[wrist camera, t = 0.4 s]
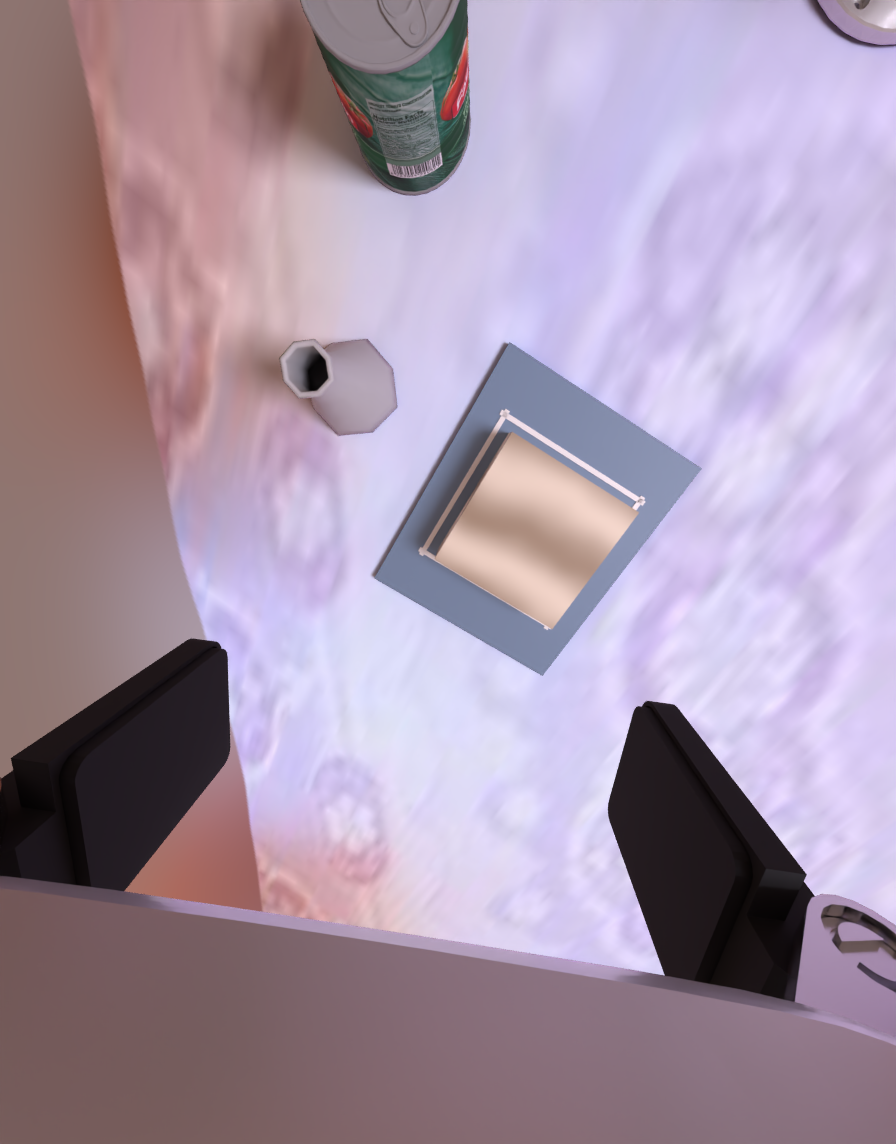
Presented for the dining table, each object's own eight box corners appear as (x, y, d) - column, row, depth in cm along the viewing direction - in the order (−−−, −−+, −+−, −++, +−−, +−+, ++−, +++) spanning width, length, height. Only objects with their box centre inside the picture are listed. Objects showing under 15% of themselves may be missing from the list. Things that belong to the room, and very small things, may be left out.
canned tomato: (334, 109, 30) (255, -74, 19) (429, 21, 28) (399, -233, 18) (399, 222, 31) (359, 111, 21) (492, 145, 30) (500, -18, 19)
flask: (293, 364, 35) (223, 335, 25) (373, 322, 33) (330, 274, 24) (335, 450, 36) (284, 453, 27) (412, 413, 35) (387, 402, 25)
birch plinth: (508, 432, 34) (512, 431, 30) (622, 504, 35) (639, 512, 31) (438, 547, 37) (434, 559, 34) (544, 610, 38) (552, 629, 35)
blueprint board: (509, 343, 33) (509, 341, 32) (697, 468, 35) (702, 468, 34) (376, 576, 39) (374, 578, 39) (541, 672, 41) (542, 676, 40)
